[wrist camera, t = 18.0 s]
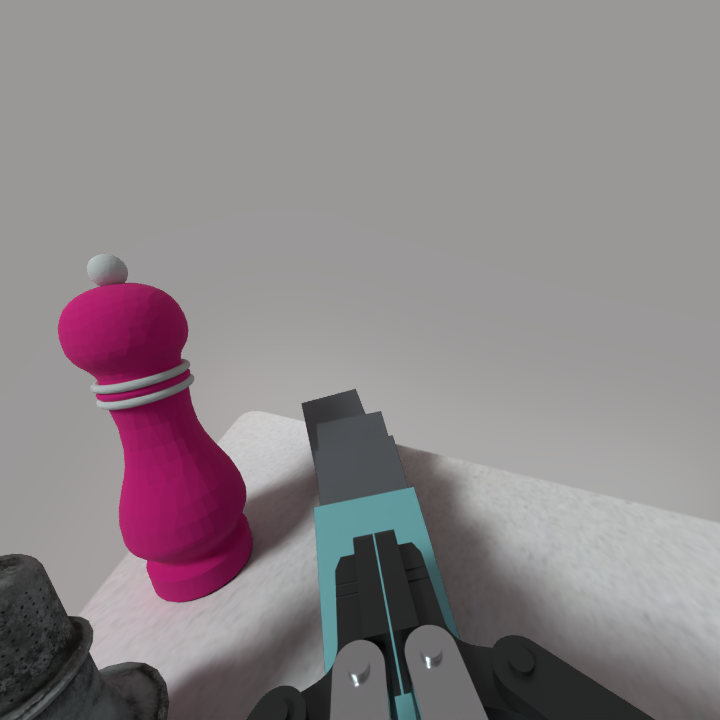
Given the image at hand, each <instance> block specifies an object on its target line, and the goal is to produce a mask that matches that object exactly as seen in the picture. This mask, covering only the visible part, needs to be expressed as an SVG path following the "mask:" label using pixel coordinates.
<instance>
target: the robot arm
mask: <svg viewBox="0 0 720 720" xmlns="http://www.w3.org/2000/svg"><path fill="white" fill-rule="evenodd" d="M374 535H375V540H376V546H377V551H378V557H379V562H380V568H381V573H382V579H383V584H384V589H385V595H386V600H387V606H388V611H389V616H390V622H391V627H392V633H393V638H394V643H395V649H396V654H397V659H398V665H399V670H400V676H401V681H402V686H403V692H404V694H408V693H411V695H412V700H413V705H414V710H415V715H416V720H655V719H653V718H652V717H650V716H648V715H647V714H645V713H644V712H642V711H641V710H639V709H638V708H636V707H634V706H633V705H631V704H630V703H628V702H627V701H625V700H623V699H622V698H620V697H619V696H617V695H616V694H614V693H612V692H611V691H609V690H608V689H606V688H605V687H603V686H602V685H600V684H598V683H597V682H595V681H594V680H592V679H591V678H589V677H587V676H586V675H584V674H583V673H581V672H580V671H578V670H576V669H575V668H573V667H572V666H570V665H569V664H567V663H566V662H564V661H562V660H561V659H559V658H558V657H556V656H555V655H553V654H551V653H550V652H548V651H547V650H545V649H544V648H542V647H541V646H539V645H537V644H536V643H534V642H533V641H531V640H529V639H527V638H524V637H521V636H515V635H511V636H506V637H503V638H501V639H500V640H498V641H497V642H496V644H495V645H494V647H493V648H487V647H480V646H474V645H470V644H467V643H465V642H463V641H461V640H460V639H458V638H457V637H456V636H454V635H453V634H452V632H451V631H450V630H449V628H448V627H447V625H446V623H445V620H444V617H443V614H442V611H441V609H440V606H439V603H438V600H437V597H436V594H435V591H434V588H433V585H432V582H431V579H430V576H429V573H428V570H427V568H426V564H425V561H424V558H423V556H422V553H421V551H420V550H419V549H418V548H417V547H416V546H415V545H414V544H413V543H412V542H409V543H404V544H399V545H398V543H397V539H396V535H395V531H394V529H392V530H387V531H382V532H377V533H374ZM353 546H354V554H352V555H348V556H343V557H340V560H339V562H338V564H337V567H336V569H335V585H336V616H337V654H336V658H335V661H334V663H333V665H332V667H331V668H330V670H329V671H328V672H327V674H326V675H325V676H324V677H323V678H322V679H321V680H319V681H318V682H317V683H315V684H313V685H312V686H310V687H309V688H307V689H306V690H304V691H302V692H301V693H300V692H299V691H298V690H297V689H296V688H294V687H291V686H280V687H277V688H274V689H273V690H271V691H269V692H268V693H267V694H265V695H264V696H263V697H262V698H261V700H260V701H259V702H258V703H257V705H256V706H255V708H254V709H253V710H252V712H251V713H250V715H249V716H248V718H247V719H246V720H398V714H397V708H396V702H395V697H396V696H400V695H402V694H401V689H400V683H399V678H398V672H397V666H396V661H395V655H394V650H393V644H392V639H391V633H390V627H389V622H388V616H387V611H386V605H385V600H384V594H383V589H382V583H381V577H380V572H379V567H378V561H377V556H376V550H375V545H374V539H373V534H368V535H363V536H359V537H354V538H353Z"/></svg>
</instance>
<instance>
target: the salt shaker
mask: <svg viewBox="0 0 720 720" xmlns="http://www.w3.org/2000/svg"><path fill="white" fill-rule="evenodd" d="M92 642H93V629H92V627H91V625H90V623H89V621H88V620H86V619H84V618H82V617H74V616H67V613H66V611H65V609H64V607H63V605H62V603H61V601H60V599H59V597H58V595H57V593H56V591H55V589H54V587H53V585H52V583H51V581H50V579H49V577H48V575H47V573H46V571H45V569H44V567H43V565H42V564H41V563H40V562H39V561H38V560H37V559H36V558H34V557H31V556H28V555H23V554H10V555H4V556H0V720H167V714H168V706H169V699H168V693H167V686H166V682H165V681H164V679H163V678H162V676H161V675H160V673H159V672H158V670H157V669H155V668H153V667H151V666H149V665H148V664H146V663H137V662H126V663H121V664H117V665H112V666H108V667H105V668H103V669H101V670H99V671H98V669H97V667H96V665H95V663H94V661H93V659H92V657H91V655H90V652H89V650H90V647H91V645H92Z"/></svg>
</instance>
